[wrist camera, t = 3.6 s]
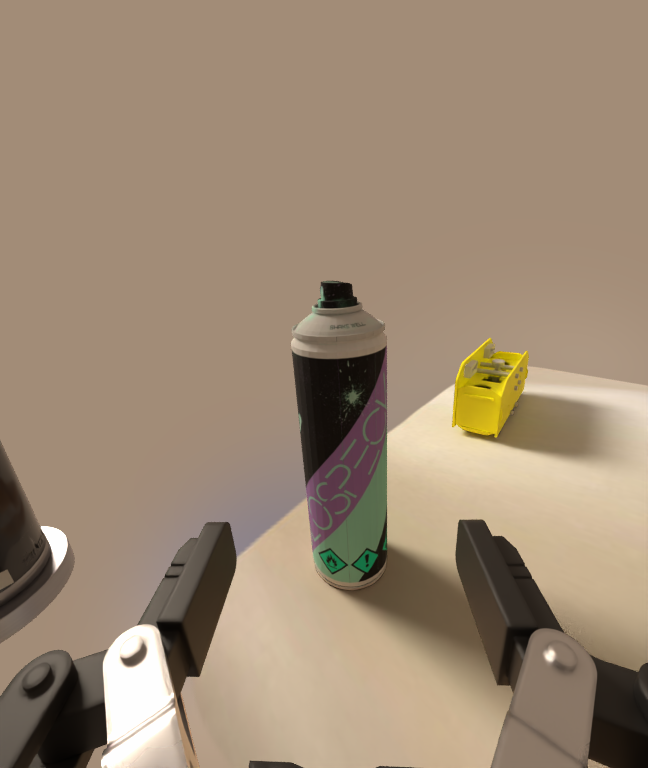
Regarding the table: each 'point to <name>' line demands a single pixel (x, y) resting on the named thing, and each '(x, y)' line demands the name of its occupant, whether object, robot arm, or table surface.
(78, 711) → the robot arm
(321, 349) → the spray can
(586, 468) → the table surface
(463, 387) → the yellow toy chassis
